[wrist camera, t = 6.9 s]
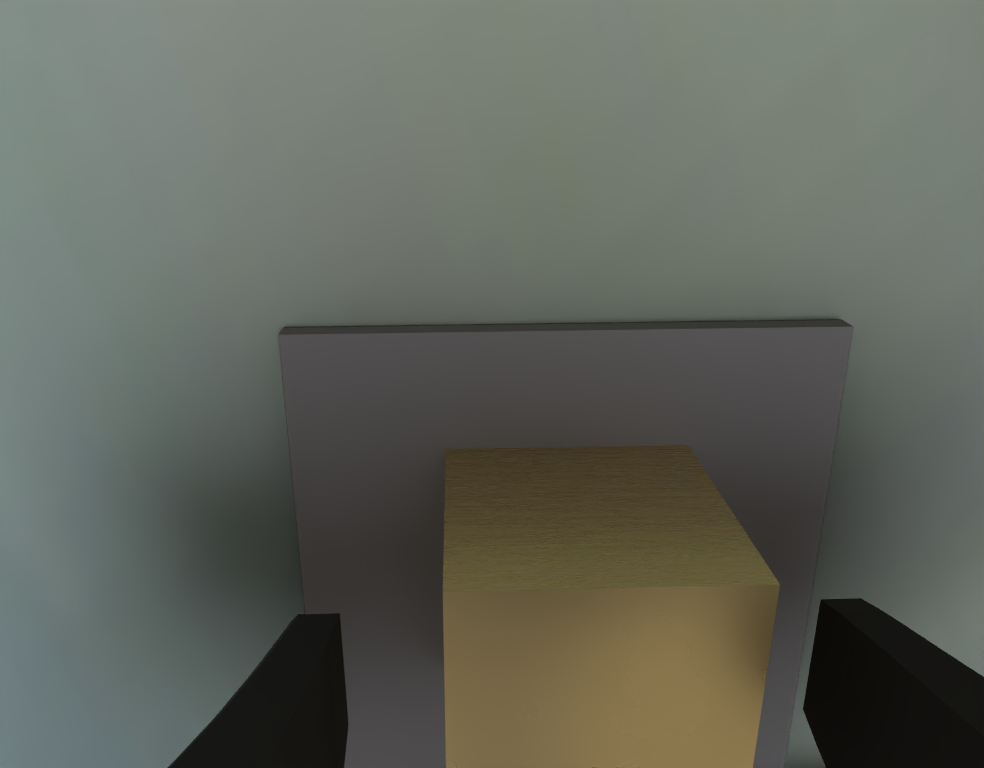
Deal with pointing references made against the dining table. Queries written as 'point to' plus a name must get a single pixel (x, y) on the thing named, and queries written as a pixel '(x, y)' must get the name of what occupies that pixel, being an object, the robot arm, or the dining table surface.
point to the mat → (528, 424)
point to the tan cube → (599, 612)
